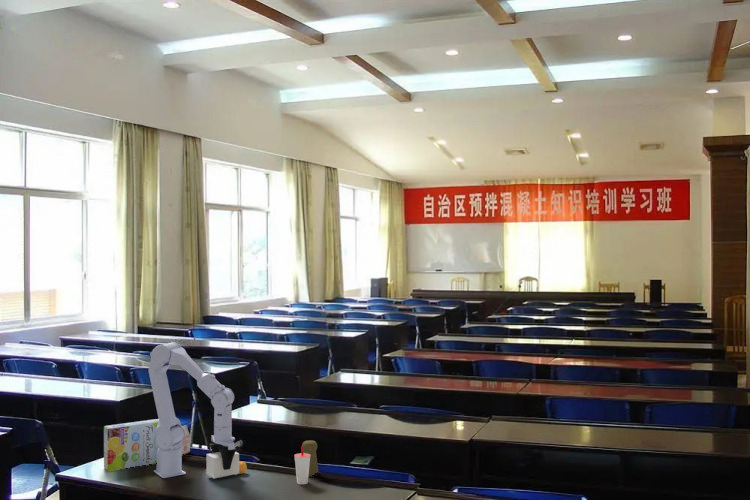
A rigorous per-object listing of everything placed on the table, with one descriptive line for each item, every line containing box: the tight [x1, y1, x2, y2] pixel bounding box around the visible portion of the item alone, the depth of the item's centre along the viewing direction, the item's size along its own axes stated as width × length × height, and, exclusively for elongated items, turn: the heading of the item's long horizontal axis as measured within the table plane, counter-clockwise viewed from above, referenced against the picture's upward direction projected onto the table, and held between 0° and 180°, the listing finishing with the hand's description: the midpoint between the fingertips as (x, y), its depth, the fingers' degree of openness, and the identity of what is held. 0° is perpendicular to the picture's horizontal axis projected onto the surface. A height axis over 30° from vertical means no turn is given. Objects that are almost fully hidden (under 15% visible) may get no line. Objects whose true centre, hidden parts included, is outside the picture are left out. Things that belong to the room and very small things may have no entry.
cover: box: [205, 451, 240, 479], centre depth 229 cm, size 6×9×7 cm, turn 127°
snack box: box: [103, 418, 159, 473], centre depth 242 cm, size 21×6×15 cm, turn 124°
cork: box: [301, 439, 319, 477], centre depth 233 cm, size 6×6×11 cm
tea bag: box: [181, 424, 191, 456], centre depth 257 cm, size 4×7×10 cm, turn 163°
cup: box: [293, 445, 311, 485], centre depth 223 cm, size 5×5×12 cm
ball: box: [238, 461, 248, 475], centre depth 233 cm, size 4×4×4 cm
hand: (222, 466), depth 229 cm, fingers closed on cover, 6 cm apart
